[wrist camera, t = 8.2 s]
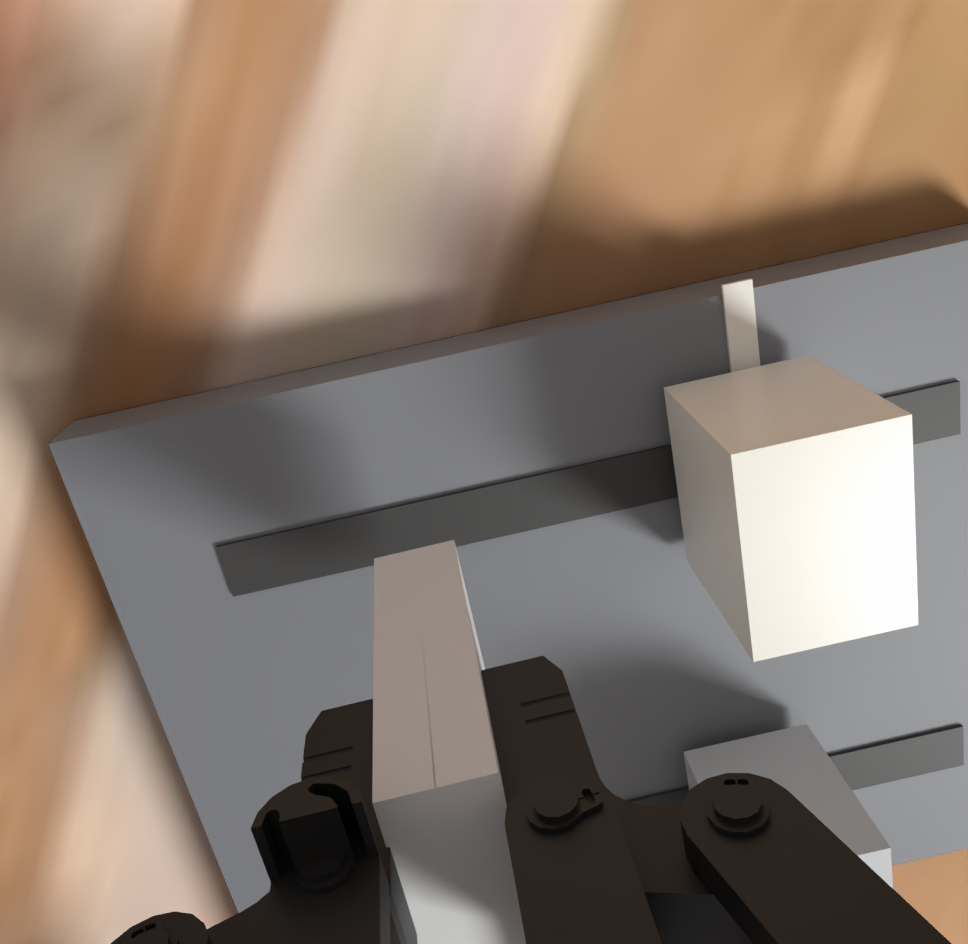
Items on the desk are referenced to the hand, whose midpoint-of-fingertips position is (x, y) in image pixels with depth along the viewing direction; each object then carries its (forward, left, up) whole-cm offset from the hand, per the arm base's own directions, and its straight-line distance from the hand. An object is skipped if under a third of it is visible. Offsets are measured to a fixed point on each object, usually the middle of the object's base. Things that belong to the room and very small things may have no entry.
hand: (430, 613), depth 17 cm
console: (+3, -4, -4) cm, 7 cm away
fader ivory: (+7, 0, -2) cm, 7 cm away
